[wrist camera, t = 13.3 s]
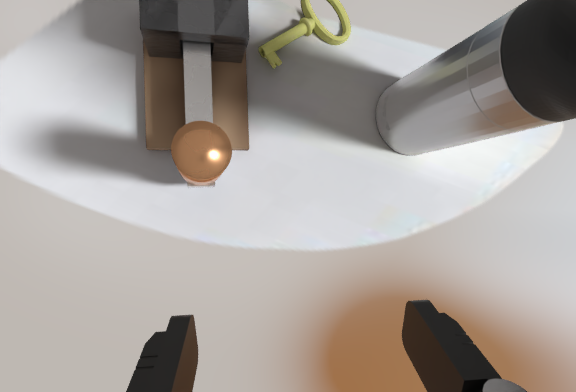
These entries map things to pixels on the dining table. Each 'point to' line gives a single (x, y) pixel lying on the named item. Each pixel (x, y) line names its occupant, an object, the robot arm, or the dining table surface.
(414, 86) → the robot arm
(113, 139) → the dining table surface
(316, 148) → the dining table surface
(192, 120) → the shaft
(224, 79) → the base board
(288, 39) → the key
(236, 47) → the block
